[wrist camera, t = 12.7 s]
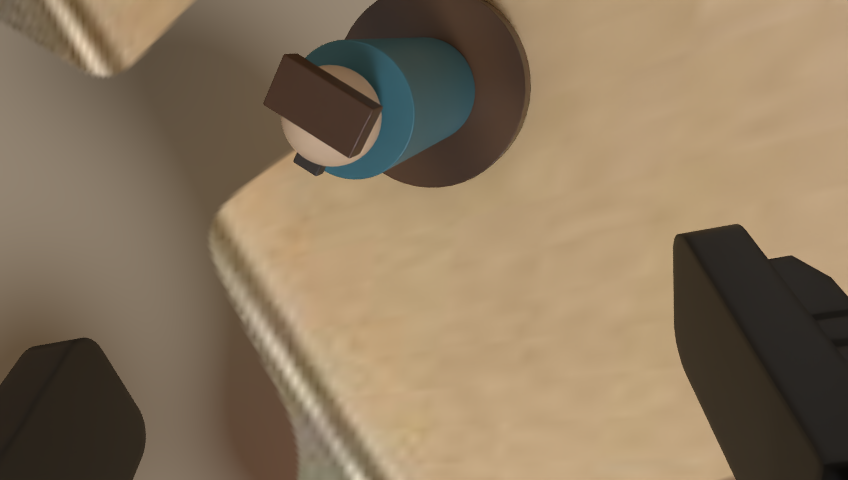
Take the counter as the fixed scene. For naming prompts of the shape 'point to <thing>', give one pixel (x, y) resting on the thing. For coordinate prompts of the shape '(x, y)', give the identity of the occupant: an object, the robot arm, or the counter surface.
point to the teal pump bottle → (370, 102)
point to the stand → (492, 71)
